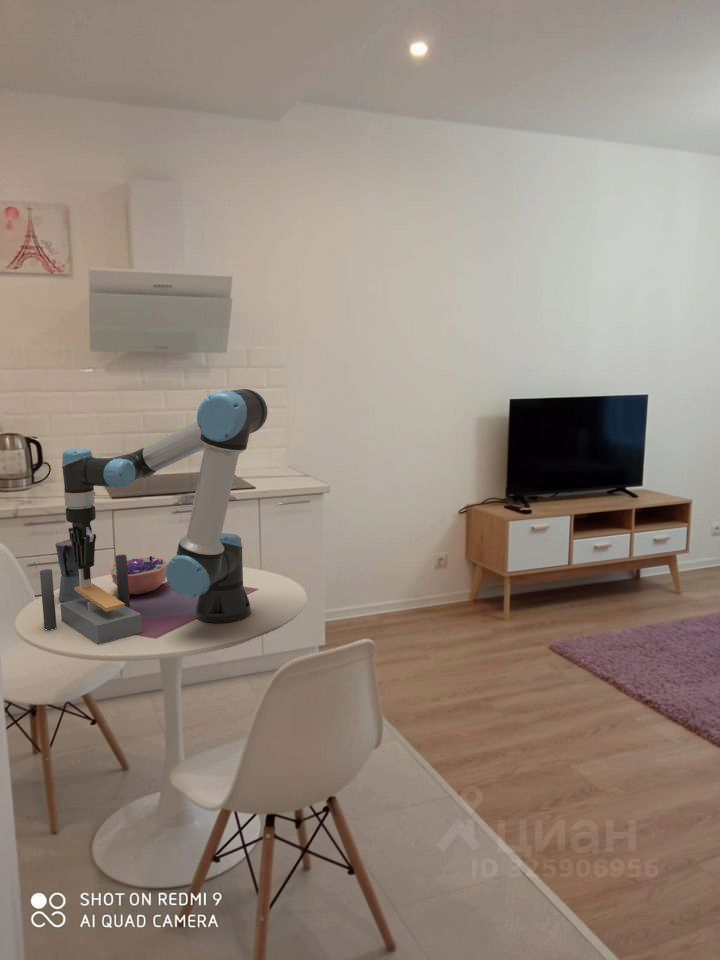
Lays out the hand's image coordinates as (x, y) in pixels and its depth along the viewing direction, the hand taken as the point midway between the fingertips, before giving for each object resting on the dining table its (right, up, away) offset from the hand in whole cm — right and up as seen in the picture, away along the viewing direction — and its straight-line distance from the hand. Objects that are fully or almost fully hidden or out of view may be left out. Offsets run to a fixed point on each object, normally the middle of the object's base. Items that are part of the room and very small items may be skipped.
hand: (85, 589), depth 207 cm
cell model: (+8, -4, +25) cm, 27 cm away
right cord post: (+8, -7, +8) cm, 13 cm away
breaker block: (+6, -9, -5) cm, 12 cm away
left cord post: (-7, -10, -6) cm, 13 cm away
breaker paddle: (+6, -1, -6) cm, 8 cm away
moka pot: (-10, -6, +18) cm, 21 cm away
